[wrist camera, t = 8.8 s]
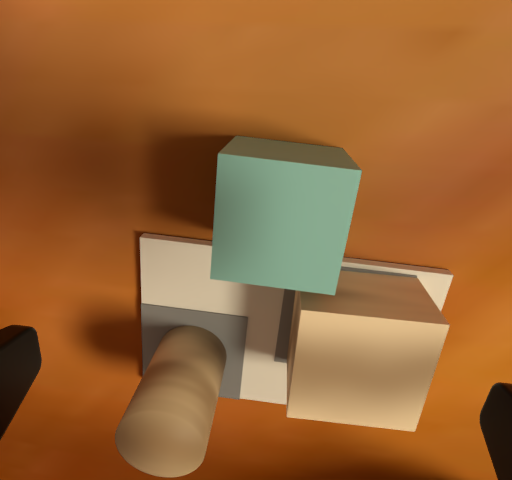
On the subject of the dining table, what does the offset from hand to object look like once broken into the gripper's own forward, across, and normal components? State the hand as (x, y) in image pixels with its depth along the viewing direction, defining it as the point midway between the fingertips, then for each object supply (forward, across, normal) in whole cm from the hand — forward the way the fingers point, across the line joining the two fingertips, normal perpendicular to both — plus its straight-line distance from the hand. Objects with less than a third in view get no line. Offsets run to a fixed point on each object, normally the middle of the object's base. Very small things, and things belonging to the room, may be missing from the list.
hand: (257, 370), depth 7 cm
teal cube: (+12, 0, 0) cm, 12 cm away
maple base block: (+11, -5, +6) cm, 14 cm away
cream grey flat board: (+12, -1, +8) cm, 14 cm away
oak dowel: (+11, +4, +10) cm, 15 cm away
